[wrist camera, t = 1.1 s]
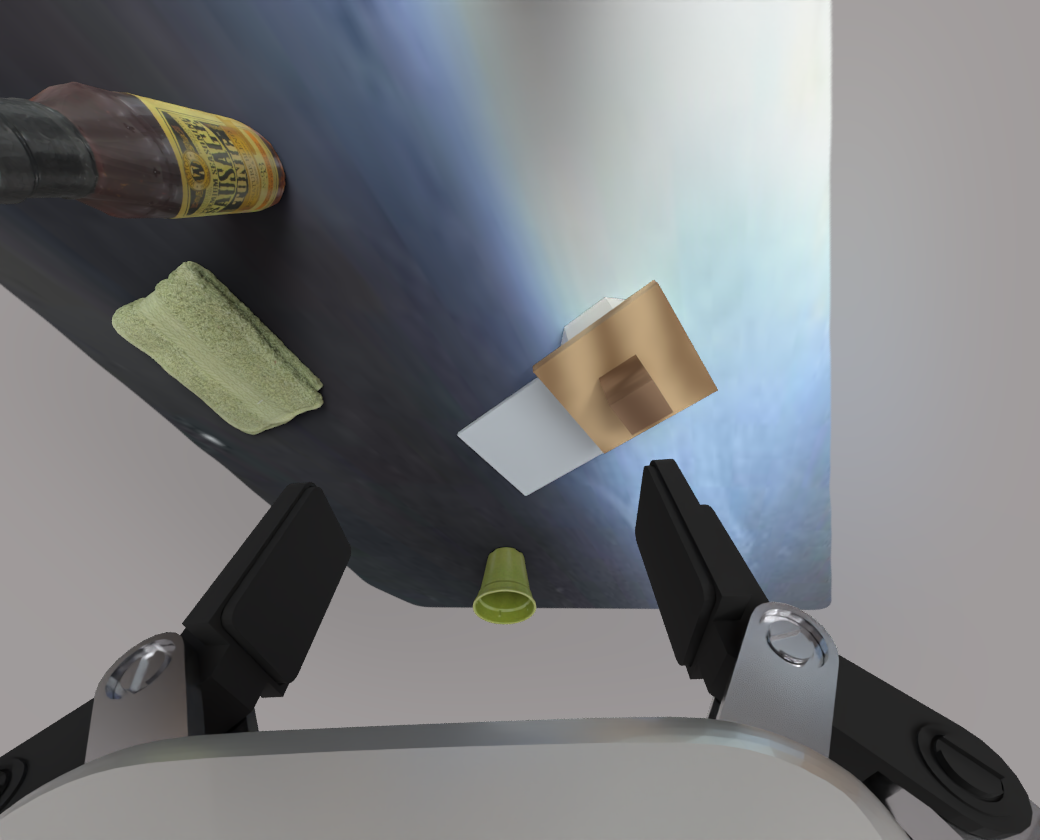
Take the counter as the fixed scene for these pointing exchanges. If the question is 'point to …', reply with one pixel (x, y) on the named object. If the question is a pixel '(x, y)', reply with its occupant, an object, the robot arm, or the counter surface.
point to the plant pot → (505, 589)
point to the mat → (530, 438)
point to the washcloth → (219, 350)
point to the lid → (627, 370)
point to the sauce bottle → (133, 155)
